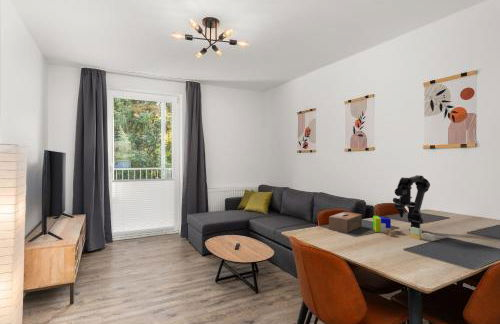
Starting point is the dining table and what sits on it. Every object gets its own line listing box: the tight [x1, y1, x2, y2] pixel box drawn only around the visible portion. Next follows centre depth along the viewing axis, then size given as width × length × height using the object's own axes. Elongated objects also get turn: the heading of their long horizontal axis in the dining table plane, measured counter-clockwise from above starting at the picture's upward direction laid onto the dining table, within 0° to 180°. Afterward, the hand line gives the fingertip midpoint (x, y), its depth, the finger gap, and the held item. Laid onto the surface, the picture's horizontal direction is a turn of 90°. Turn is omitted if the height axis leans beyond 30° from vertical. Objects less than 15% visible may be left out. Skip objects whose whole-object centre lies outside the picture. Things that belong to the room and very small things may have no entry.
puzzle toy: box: [372, 215, 392, 234], centre depth 213 cm, size 10×10×10 cm
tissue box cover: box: [328, 211, 363, 234], centre depth 221 cm, size 26×14×10 cm, turn 136°
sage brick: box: [409, 226, 423, 235], centre depth 193 cm, size 6×3×4 cm, turn 25°
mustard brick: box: [409, 232, 423, 241], centre depth 193 cm, size 6×3×4 cm, turn 34°
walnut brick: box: [384, 229, 396, 237], centre depth 201 cm, size 6×3×4 cm, turn 11°
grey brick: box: [422, 232, 436, 242], centre depth 192 cm, size 6×3×4 cm, turn 34°
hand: (405, 216), depth 205 cm, fingers open, 9 cm apart
